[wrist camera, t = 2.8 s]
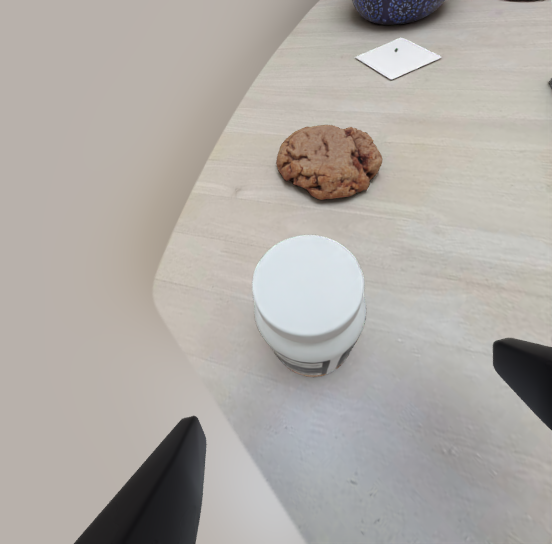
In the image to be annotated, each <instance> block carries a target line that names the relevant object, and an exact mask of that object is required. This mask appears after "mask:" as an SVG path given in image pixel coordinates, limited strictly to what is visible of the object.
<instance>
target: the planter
mask: <svg viewBox="0 0 552 544" xmlns="http://www.w3.org/2000/svg"><path fill="white" fill-rule="evenodd" d="M444 1H445V0H352V2H353V4H354V6H355V8H356V10H357V11H358V13H359V14H360V15H361V16H362V17H363V18H364V19H366V20H368V21H370V22H373V23H377V24H383V25H397V24H405V23H410V22H413V21H416V20H419V19H421V18H424V17H426V16H428V15H429V14H431V13H432V12H433V11H435V10H436V9H437V8H438V7H439V6H440V5H441V4H442V3H443V2H444Z"/></svg>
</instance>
